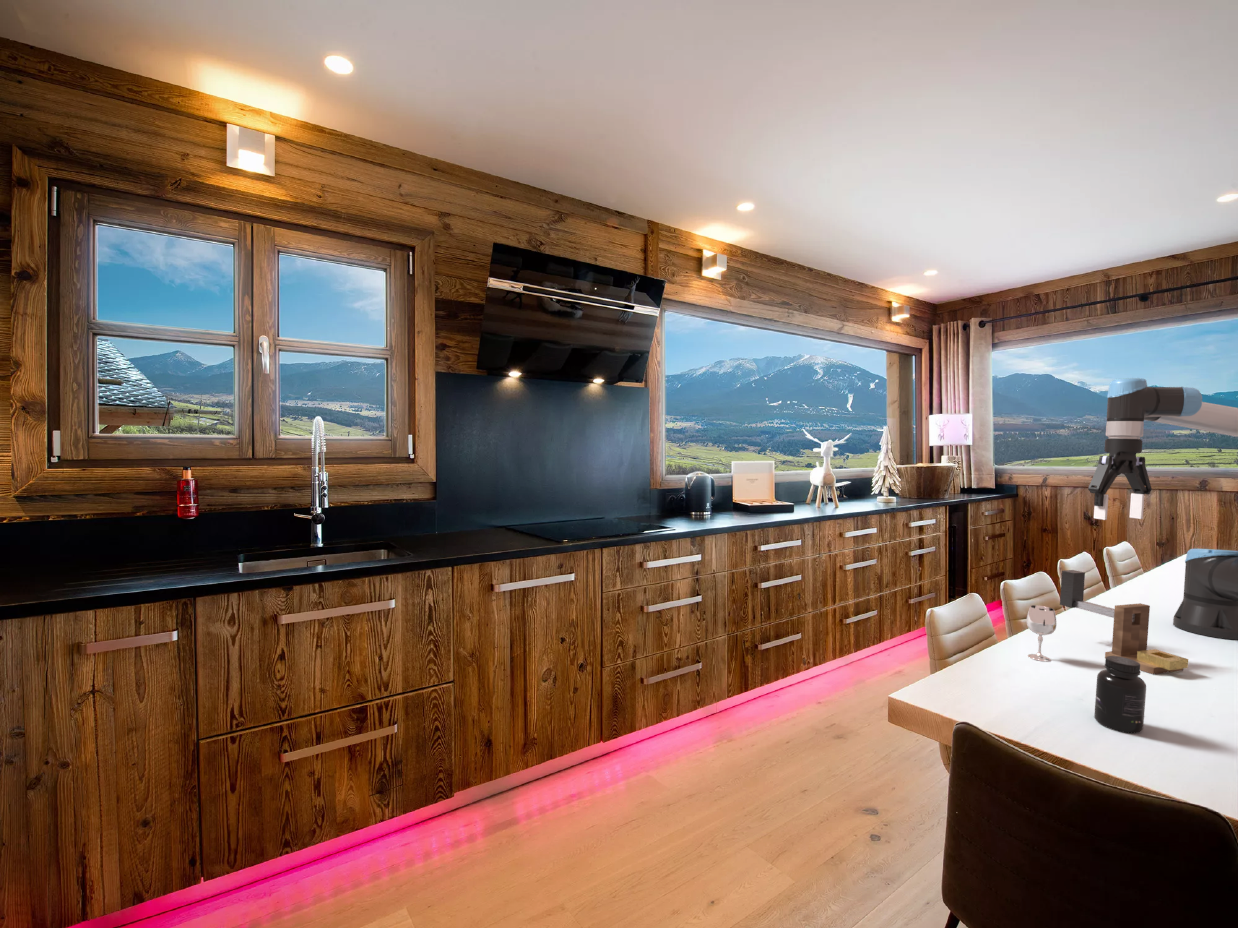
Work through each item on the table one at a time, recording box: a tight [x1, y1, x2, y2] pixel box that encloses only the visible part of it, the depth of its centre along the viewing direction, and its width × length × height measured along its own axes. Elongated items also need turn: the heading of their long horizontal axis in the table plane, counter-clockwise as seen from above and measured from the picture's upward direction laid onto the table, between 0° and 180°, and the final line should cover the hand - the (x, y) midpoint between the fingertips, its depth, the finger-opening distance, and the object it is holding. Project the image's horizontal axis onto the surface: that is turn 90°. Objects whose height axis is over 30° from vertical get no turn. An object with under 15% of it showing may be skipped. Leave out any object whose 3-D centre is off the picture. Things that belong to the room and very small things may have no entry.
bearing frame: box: [1104, 603, 1184, 676], centre depth 139 cm, size 10×10×13 cm
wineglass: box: [1026, 604, 1058, 662], centre depth 141 cm, size 6×6×12 cm
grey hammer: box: [1059, 569, 1135, 622], centre depth 148 cm, size 16×4×9 cm, turn 18°
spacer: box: [1137, 648, 1189, 670], centre depth 135 cm, size 2×6×6 cm
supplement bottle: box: [1093, 656, 1147, 734], centre depth 107 cm, size 7×7×12 cm
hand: (1118, 518), depth 157 cm, fingers open, 13 cm apart
